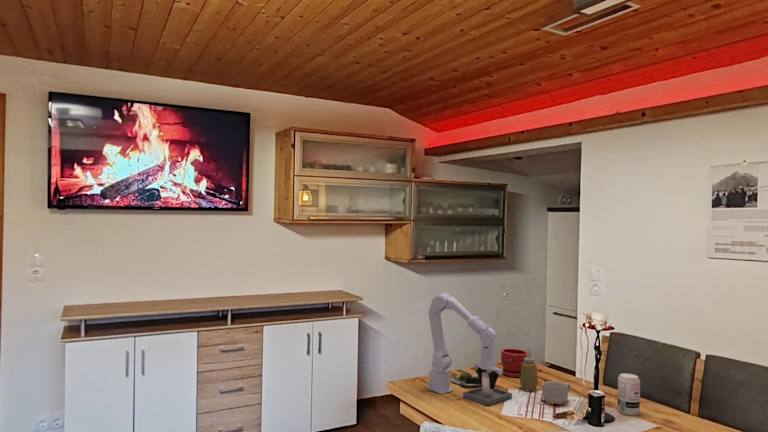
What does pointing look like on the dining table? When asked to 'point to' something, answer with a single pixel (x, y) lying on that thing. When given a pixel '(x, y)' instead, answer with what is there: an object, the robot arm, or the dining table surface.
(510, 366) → the plant pot
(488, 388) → the salt shaker
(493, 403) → the tray
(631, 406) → the supplement can
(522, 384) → the squeeze bottle
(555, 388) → the teacup
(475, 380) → the salad plate
